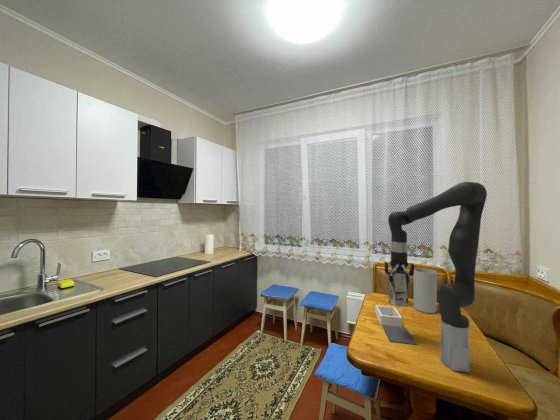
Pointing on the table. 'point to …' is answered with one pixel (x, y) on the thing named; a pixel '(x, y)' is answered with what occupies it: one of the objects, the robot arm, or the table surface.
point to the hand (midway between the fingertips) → (398, 283)
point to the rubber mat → (399, 335)
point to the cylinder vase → (425, 290)
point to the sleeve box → (388, 320)
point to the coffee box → (399, 289)
